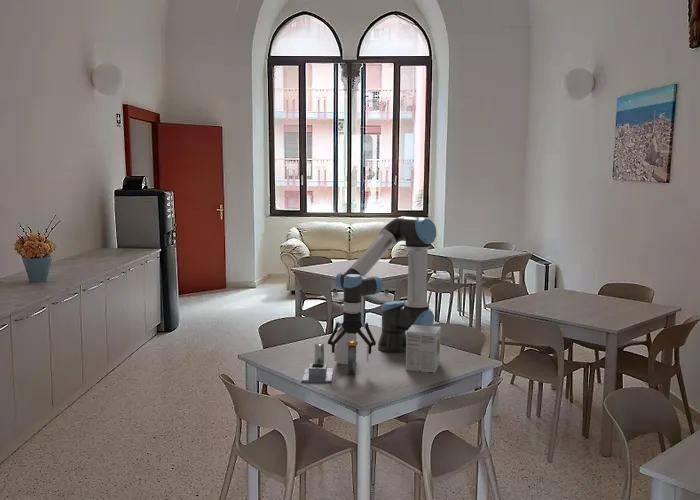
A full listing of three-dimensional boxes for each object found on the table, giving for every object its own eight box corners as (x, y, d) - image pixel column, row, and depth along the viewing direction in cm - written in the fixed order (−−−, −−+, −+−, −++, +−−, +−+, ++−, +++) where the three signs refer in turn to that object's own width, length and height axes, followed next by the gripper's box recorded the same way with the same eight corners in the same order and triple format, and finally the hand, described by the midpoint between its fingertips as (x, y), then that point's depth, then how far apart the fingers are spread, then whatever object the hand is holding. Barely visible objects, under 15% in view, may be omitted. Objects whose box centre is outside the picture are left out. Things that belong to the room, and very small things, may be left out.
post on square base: (333, 370, 270) (333, 343, 269) (331, 383, 255) (331, 354, 253) (306, 370, 271) (305, 343, 269) (301, 382, 255) (301, 353, 253)
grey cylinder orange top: (357, 372, 268) (357, 340, 266) (357, 376, 263) (357, 343, 262) (346, 372, 268) (346, 340, 266) (346, 375, 264) (346, 343, 262)
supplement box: (435, 373, 267) (436, 333, 265) (405, 370, 271) (405, 331, 269) (440, 364, 280) (441, 326, 278) (411, 361, 284) (412, 324, 282)
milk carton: (356, 361, 284) (356, 320, 281) (351, 365, 277) (351, 323, 275) (341, 359, 286) (341, 318, 284) (336, 364, 279) (336, 322, 277)
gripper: (381, 310, 266) (380, 358, 268) (323, 308, 266) (322, 357, 269) (382, 314, 258) (381, 364, 261) (321, 312, 259) (321, 362, 261)
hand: (351, 360), depth 265 cm, fingers open, 13 cm apart
